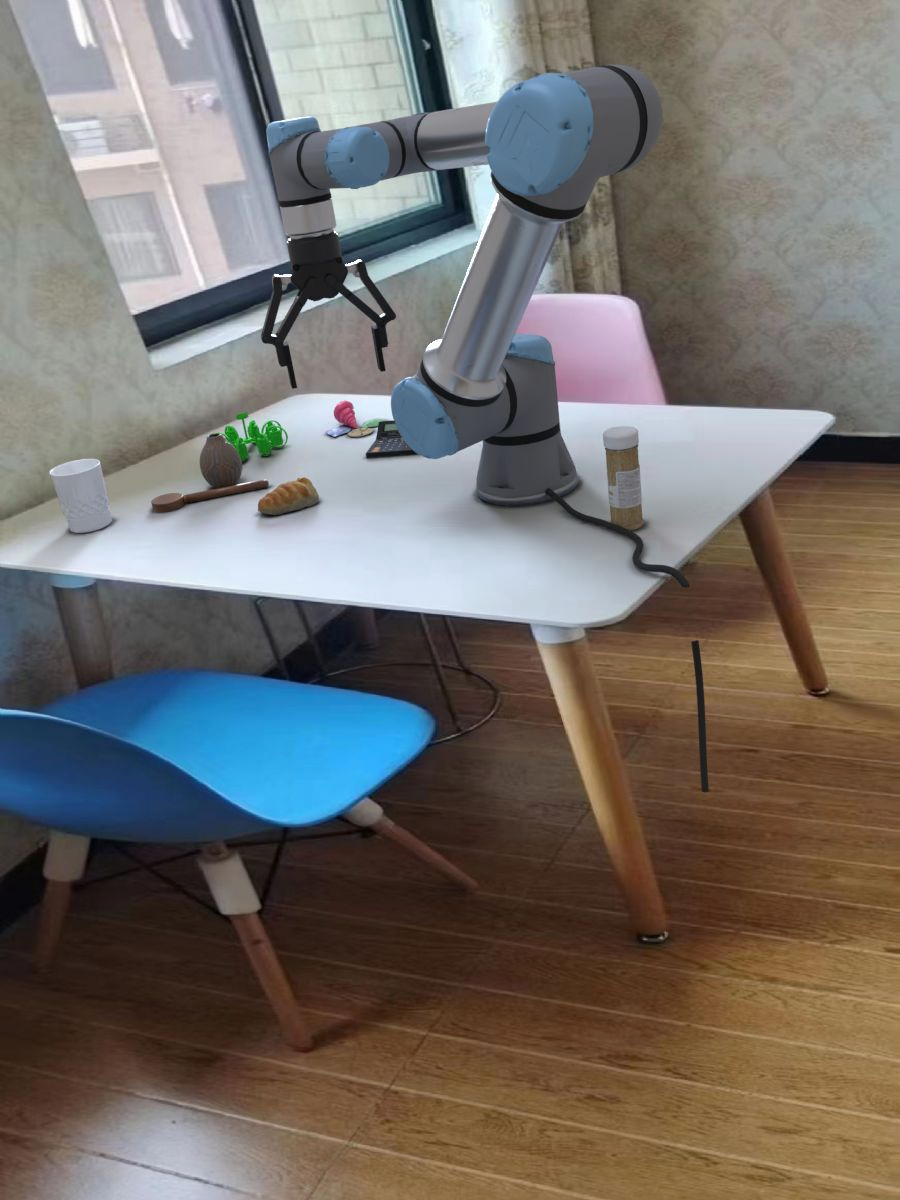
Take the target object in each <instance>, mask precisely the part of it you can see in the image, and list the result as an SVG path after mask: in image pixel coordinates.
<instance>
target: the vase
mask: <svg viewBox="0 0 900 1200" xmlns="http://www.w3.org/2000/svg"><path fill="white" fill-rule="evenodd" d="M221 433H222V432H221ZM221 433H216V432H213V433H210V434H208V435H207V436H206V441H205V443H204V444H203V447H202V449H201V452H200V455H199V467H200V472H201V474H202V477H203V479H204V480H205V482H206V483H207V484H208V485H210V486H211V487H213V488H214V489H218V488H223V487H228V486H233V485H237V483H238V482H239V480H240V479H241V476H242V473H243V466H242V465H243V462H241V458H240V455H239V453H238V451H237V450H236V448H235V447H234V446H233V445H232V444H231V443H230V442H228V441H227V440H226V439H225V438H226V437H225V436H223V435H222V434H221Z"/></svg>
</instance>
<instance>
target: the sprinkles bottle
mask: <svg viewBox="0 0 900 1200" xmlns="http://www.w3.org/2000/svg"><path fill="white" fill-rule="evenodd" d="M602 441H603V447H604V450H605V459H606V477H607V478H606V480H607V492H608V504H609V512H610V521H609V522H610V523H613V524H615V525H618V526H621V527H623V528H626V529H628V530H630V531H634V530H638V529H639V528H641V527H642V526H643V525H644V523H645V522H644V521H645V520H644V518H643V509H642V508H643V507H642V502H643V498H642V483H641V482H642V481H641V465H640V461H639V460H640V459H639V443H640V438H639V430H638V429H637V428H636V427H634V426H631V425H617V426H612V427H610V428H607V429H606V430H604V431H603V433H602Z"/></svg>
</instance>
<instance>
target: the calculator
mask: <svg viewBox="0 0 900 1200" xmlns="http://www.w3.org/2000/svg"><path fill="white" fill-rule="evenodd" d="M413 455H414V456H415V455H418V454H417V453H416V452H415V451H413V450H412V449H411V448H410V447H409V446H408V445H407V443H406V442H405V441H404V439H403V438H402V436H401V435H400V433H399V431H398V429H397V427H396V423H395V421H394V419H393V420H386V421H381V422H379V424H378V426H377V429H376V437H375V440H374V442H373V443H372V444H371V446H370V447H369V448H368V450H367V451H366V452H365V457H366V459H371V458H372V459H374V458H385V457H386V458H387V457H399V456H413Z"/></svg>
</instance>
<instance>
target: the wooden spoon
mask: <svg viewBox="0 0 900 1200" xmlns="http://www.w3.org/2000/svg"><path fill="white" fill-rule="evenodd" d="M269 484H270V483H269V481H268V480H267V479H259V480H253V481H249V482H243V483H239V484H235V485H233V486H228V487H223V488H212V489H208V490H203V491H197V492H192V493H187V494H184V495H183V494H182V493H179V492H169V493H164V494H162V495H161V494H160V495H158V496H156V497H154V498H153V499H152V500H151V501H150V504H151V507H152V510H153V512H155V513H168V512H172V511H176V510H179V509H180V508H182V507H183V506H184V505H186V504H190V503H195V502H200V501H204V500H205V501H206V500H210V499H216V498H221V497H226V496H231V495H235V494H240V493H241V494H242V493H245V492H251V491H252V492H253V491H256V490H257V491H258V490H262V489H267V488H268V487H269V486H270V485H269Z"/></svg>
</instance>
